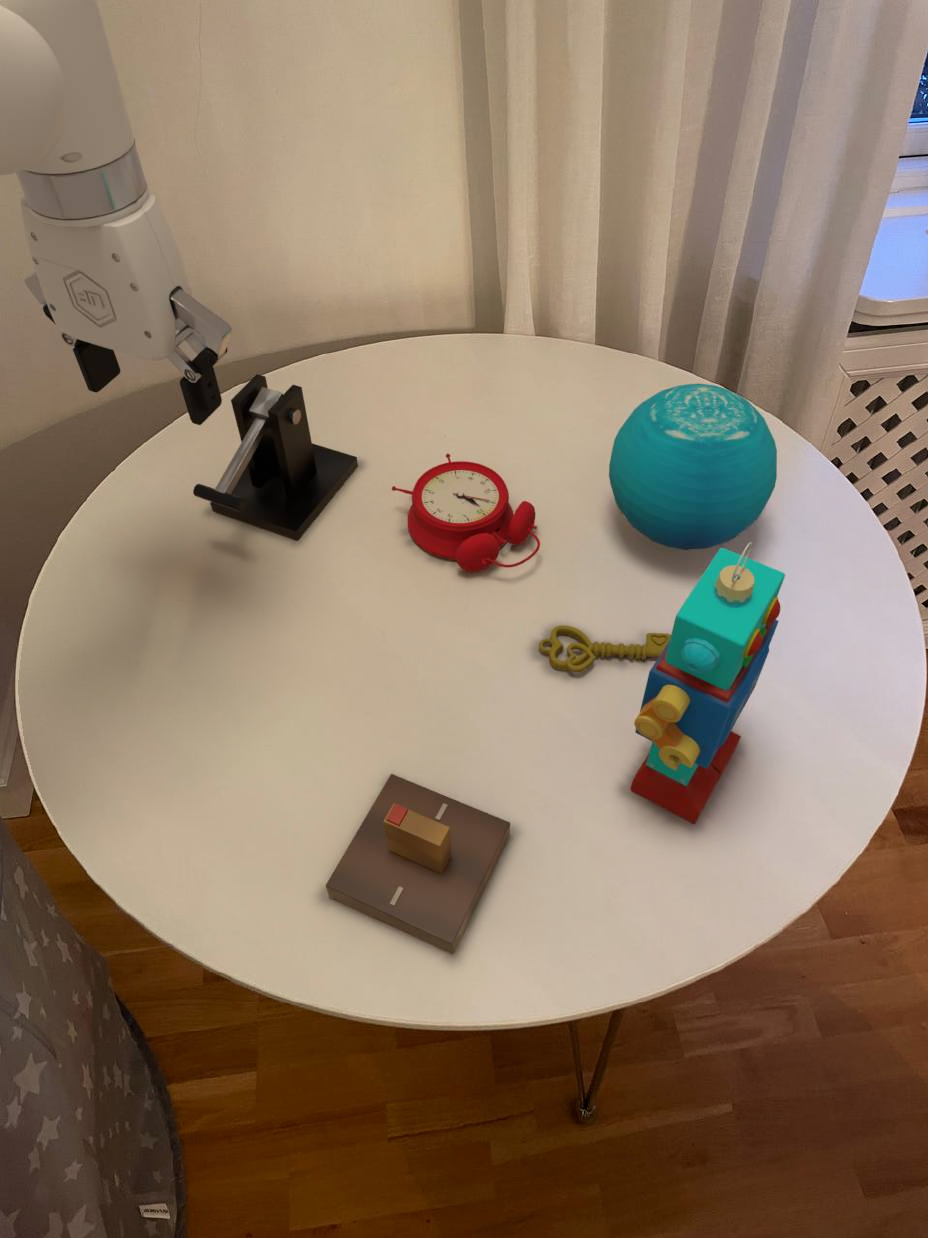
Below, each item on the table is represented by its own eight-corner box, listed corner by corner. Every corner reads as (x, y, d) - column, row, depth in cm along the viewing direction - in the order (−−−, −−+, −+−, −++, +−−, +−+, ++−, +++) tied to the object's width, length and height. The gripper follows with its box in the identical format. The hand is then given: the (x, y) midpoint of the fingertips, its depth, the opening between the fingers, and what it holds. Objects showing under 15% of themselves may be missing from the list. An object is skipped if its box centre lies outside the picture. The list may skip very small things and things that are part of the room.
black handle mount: (297, 540, 91) (277, 446, 82) (212, 511, 93) (183, 416, 84) (358, 465, 97) (345, 370, 88) (276, 440, 100) (256, 345, 91)
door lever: (244, 517, 85) (234, 504, 83) (199, 501, 86) (188, 488, 84) (303, 411, 89) (295, 396, 86) (258, 397, 90) (249, 382, 88)
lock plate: (453, 955, 65) (452, 943, 63) (328, 897, 68) (324, 884, 66) (509, 834, 71) (510, 821, 69) (393, 786, 73) (391, 772, 72)
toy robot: (685, 842, 70) (763, 635, 51) (612, 803, 72) (661, 590, 53) (744, 732, 76) (834, 510, 57) (676, 699, 78) (740, 474, 59)
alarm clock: (455, 439, 94) (563, 486, 85) (465, 491, 98) (569, 541, 89) (375, 488, 90) (479, 543, 80) (389, 540, 94) (490, 598, 84)
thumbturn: (451, 855, 67) (450, 825, 64) (442, 874, 66) (439, 844, 63) (398, 832, 69) (393, 800, 65) (387, 850, 68) (382, 819, 64)
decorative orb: (603, 580, 87) (622, 456, 75) (598, 472, 96) (614, 347, 85) (767, 586, 86) (811, 461, 74) (745, 477, 96) (782, 351, 84)
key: (676, 628, 81) (679, 675, 78) (674, 638, 82) (677, 684, 79) (540, 621, 82) (537, 666, 79) (539, 630, 83) (537, 675, 80)
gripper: (-63, 177, 59) (36, 397, 73) (157, 232, 55) (220, 457, 68) (19, 129, 64) (98, 345, 77) (230, 176, 59) (276, 398, 72)
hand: (155, 397), depth 72 cm, fingers open, 9 cm apart
